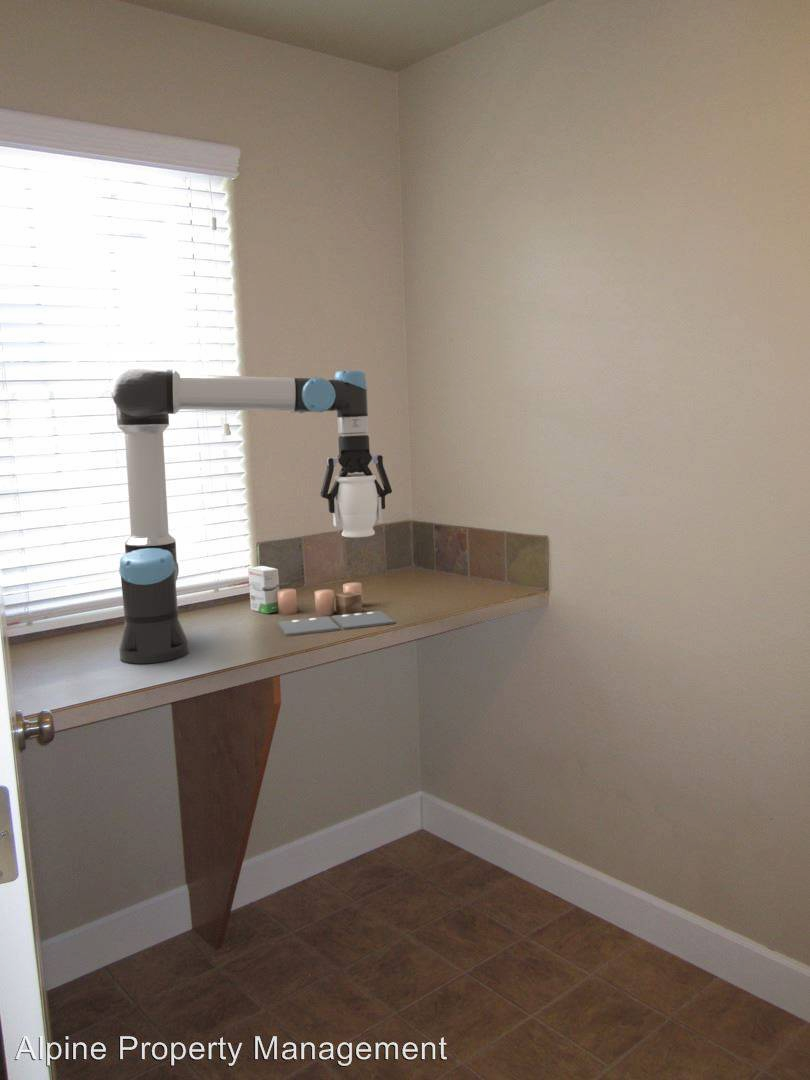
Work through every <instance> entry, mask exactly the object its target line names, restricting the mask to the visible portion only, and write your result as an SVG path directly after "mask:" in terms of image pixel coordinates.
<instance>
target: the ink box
mask: <svg viewBox="0 0 810 1080" xmlns="http://www.w3.org/2000/svg"><path fill="white" fill-rule="evenodd" d="M247 571H248V584H249V598H250V599H249V600H250V602H249V603H250V610H251V611H255V612H259V613H262V614H266V615H269V614H271V613H272V614H273V613H278V600H277V591H278V590H280V580H279V579H280V577H279V569H278V568H275V567H271V566H265V565H260V566H259V565H258V566H251V567H247Z"/></svg>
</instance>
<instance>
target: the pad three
mask: <svg viewBox="0 0 810 1080" xmlns="http://www.w3.org/2000/svg"><path fill="white" fill-rule="evenodd" d="M331 620H332V621H333V620H334V621H333V622H334V623H335V624H336V625H337V626H338V625H339V626H338V627H339V628H341V629H342V628H343V629H345V630H351V629H350V628H353V629H360V628H359V627H362V628H368V627H369V626H371V627H379V625H380V626H387V625H386V624H388V625H394V623H395V620H394V619H392V618H390V617H389V616H388V615H387V614H386V613H384V612H383V611H382V610H375V611H365V612H363V611H362V613H354V614H345V615H341V614H337V615H335V614H334V615H331ZM369 628H370V627H369ZM343 629H342V630H343Z"/></svg>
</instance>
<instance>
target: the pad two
mask: <svg viewBox="0 0 810 1080" xmlns="http://www.w3.org/2000/svg"><path fill="white" fill-rule="evenodd" d="M277 625H278V627H279V628H280V629H281V631H282V632H283V633H284V635H285V637H291V636H298V635H299V636H300V635H307V634H318V633H325V632H335V630H336V631H340V626H338V624H337V623H336V622H335V621H333V619H332V618H331V617H330V616H318V617H311V618H300V619H291V620H283V621H277Z"/></svg>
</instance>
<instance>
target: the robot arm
mask: <svg viewBox="0 0 810 1080" xmlns="http://www.w3.org/2000/svg"><path fill="white" fill-rule="evenodd" d="M110 390H111V398H112V400H113V403H114V404H115V407H116V408H115V410H116V423H117V424H116V425H117V428H119V429H120V430H121V431H122V432H123V433H124V439H125V440H124V443H125V459H126V472H127V474H126V475H127V491H128V493H127V494H128V507H129V523H130V524H129V525H130V536H129V537H128V538H127V540H126V541H125V542H124V548H125V549H124V550H125V552H124V553H125V554H123V555H122V556H121V558H120V560H119V568H118V571H119V572H118V573H119V575H120V580H121V581H120V582H121V592H122V593H121V595H122V603H123V604H122V605H123V614H124V615H123V616H124V626H123V627H124V628H123V631H122V635H121V638H120V643H119V644H120V645H119V648H118V649H119V650H118V653H119V659H120V661H122V662H125V663H130V664H154V663H162V662H167V661H172V660H174V659H175V660H176V659H178V658H180V657H183V656H186V655H187V654H188V653H189V652H190V647H189V646H190V645H189V640H188V638H187V636H186V634H185V633H186V632H185V630H184V628H183V626H182V623H181V622H180V619H179V609H178V598H177V596H178V595H177V580H178V576H179V572H180V571H179V569H180V568H179V563H178V559H177V546H176V545H177V544H176V539H175V538H174V536H172V535H171V534H170V533H169V518H168V499H167V483H166V479H167V478H166V467H165V466H166V464H165V463H166V462H165V448H164V432H165V431H166V429H167V428H168V427H169V426H170V419H169V418H170V417H169V416H170V415H173V414H174V415H176V414H177V413H178V412H179V411H180V410H195V411H196V410H202V411H203V410H205V411H206V410H207V411H262V412H265V411H266V412H290V413H299V414H303V413H325V412H336V413H337V415H336V416H337V434H339V436H338V438H337V439H338V456H337V457H327V458H326V470H325V475H324V479H323V482H322V485H321V486H322V487H321V490H320V494H319V495H320V497H321V498H323V499H327V501H328V504H327V505H328V512H329V513H330V514H332V519H333V526H334V527H335V528H336V527H337V528H339V527H340V521H339V516H338V500H336V494H337V493H338V489H339V482H336V481H335V480H334V482H333V485H332V487H331V489H330V486H331V482H332V479H333V474H334V470H335V469H334V468H335V467H336V466H337V463H339V465H340V466H341V469H340V471H339V474H338V475H337V476H338V477H346V476H347V475H349V474H356V473H358V474H365V475H366V476H371V475H374V474H373V472H372V470H371V469H370V467H369V465H370V463H371V461H372V462H373V464H375V466H376V467H375V468H376V470H377V473H378V476H379V479H380V480H381V481H380V482H381V484H382V486H381V485H380V483H379V482H378V480H377V479H376V480H375V485H376V489H377V497H378V505H377V513H376V521H375V523H378V524H383V510H385V509H386V496H387V495H389V494H391V493H392V492H393V489H392V487H391V484H390V481H389V478H388V476H387V473H386V469H385V467H384V459H383V458H384V457H383V455H382V454H376V455H372V454H371V452H370V451H371V450H370V436H369V435H368V433H369V416H368V414H369V413H368V412H369V411H368V388H367V378H366V374H365V372H364V371H362V370H359V369H358V370H354V369H353V370H339V371H338V370H337V371H336V372H335V374H334V379H333V378H332V379H326V378H324V377H312V378H311V377H282V376H281V377H276V376H246V375H244V376H243V375H240V376H239V375H214V374H213V375H211V374H210V375H209V374H208V375H207V374H206V375H205V374H204V375H203V374H180V373H179V372H178V371H176V369H167V368H159V367H158V368H156V367H151V366H146V365H142V364H133V365H132V364H131V365H129V366H125V367H124V368H122V369H121V370H120V371H118V372H117V373H116V374H115V376H114V378H113V380H112V383H111V388H110ZM382 487H383V488H382ZM329 490H330V491H329Z"/></svg>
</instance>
